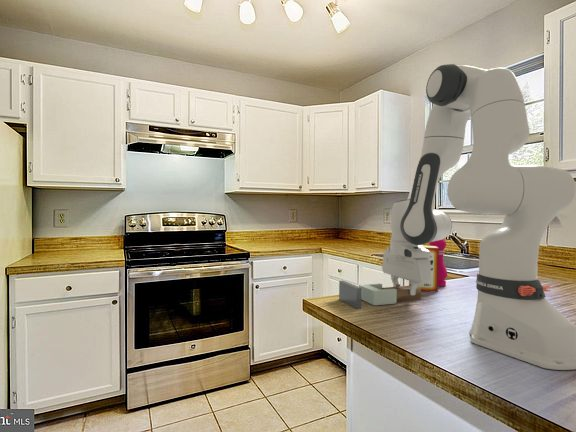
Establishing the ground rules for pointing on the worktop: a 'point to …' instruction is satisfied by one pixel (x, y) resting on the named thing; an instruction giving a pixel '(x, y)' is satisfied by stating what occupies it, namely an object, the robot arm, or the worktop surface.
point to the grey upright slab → (350, 294)
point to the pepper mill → (440, 261)
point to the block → (378, 294)
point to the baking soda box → (434, 270)
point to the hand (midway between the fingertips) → (403, 292)
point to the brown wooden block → (405, 293)
